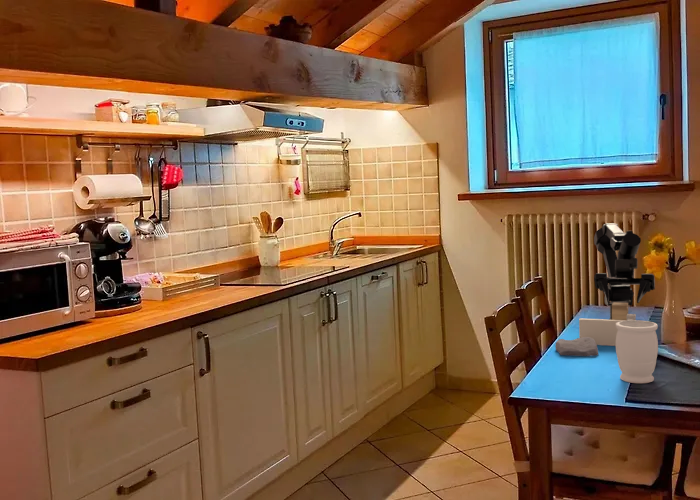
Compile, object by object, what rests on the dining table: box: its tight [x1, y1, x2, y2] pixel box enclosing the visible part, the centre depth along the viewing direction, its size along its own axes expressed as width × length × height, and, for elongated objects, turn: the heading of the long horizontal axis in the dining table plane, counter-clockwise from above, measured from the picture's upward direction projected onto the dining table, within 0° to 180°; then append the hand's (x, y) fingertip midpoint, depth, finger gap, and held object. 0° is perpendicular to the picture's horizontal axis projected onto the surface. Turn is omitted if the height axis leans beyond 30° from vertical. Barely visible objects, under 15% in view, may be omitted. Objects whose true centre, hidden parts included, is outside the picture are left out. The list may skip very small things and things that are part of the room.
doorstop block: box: [612, 303, 629, 321], centre depth 238 cm, size 4×4×12 cm
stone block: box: [555, 337, 599, 357], centre depth 226 cm, size 12×5×10 cm
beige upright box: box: [578, 317, 626, 347], centre depth 234 cm, size 3×14×8 cm, turn 64°
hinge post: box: [627, 313, 637, 320], centre depth 230 cm, size 2×2×10 cm
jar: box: [615, 319, 659, 384], centre depth 194 cm, size 11×10×15 cm
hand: (622, 302), depth 242 cm, fingers open, 9 cm apart
